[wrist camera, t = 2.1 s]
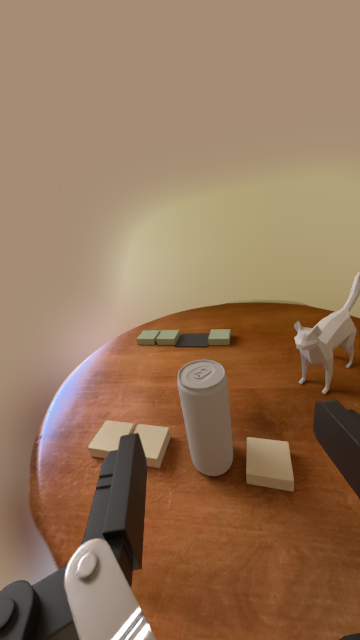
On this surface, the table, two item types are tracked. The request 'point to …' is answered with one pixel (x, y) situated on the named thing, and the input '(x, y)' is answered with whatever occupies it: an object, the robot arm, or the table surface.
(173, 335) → the far word
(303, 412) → the table surface
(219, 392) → the beverage can
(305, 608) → the table surface
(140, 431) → the near word
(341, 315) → the cat figurine
